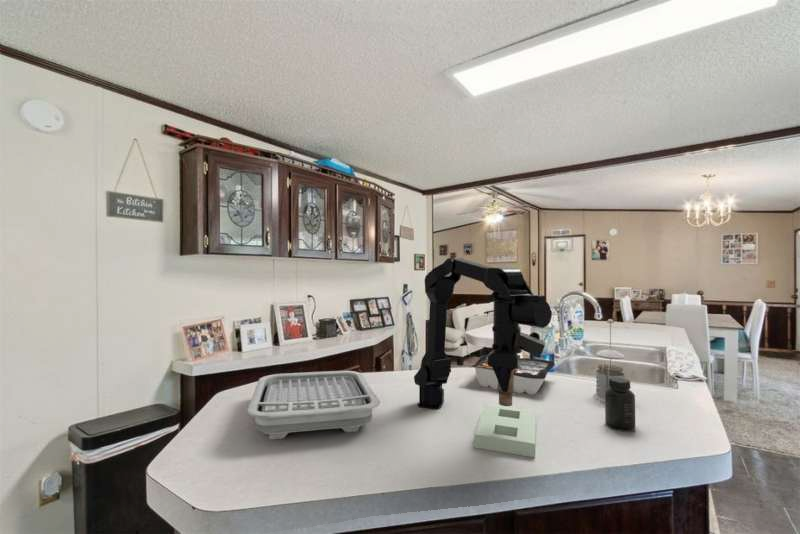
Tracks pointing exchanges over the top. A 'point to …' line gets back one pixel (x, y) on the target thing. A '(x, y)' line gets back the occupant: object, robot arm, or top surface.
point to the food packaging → (516, 374)
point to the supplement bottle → (620, 405)
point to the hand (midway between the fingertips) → (505, 389)
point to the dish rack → (311, 402)
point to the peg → (506, 397)
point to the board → (507, 430)
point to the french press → (607, 370)
